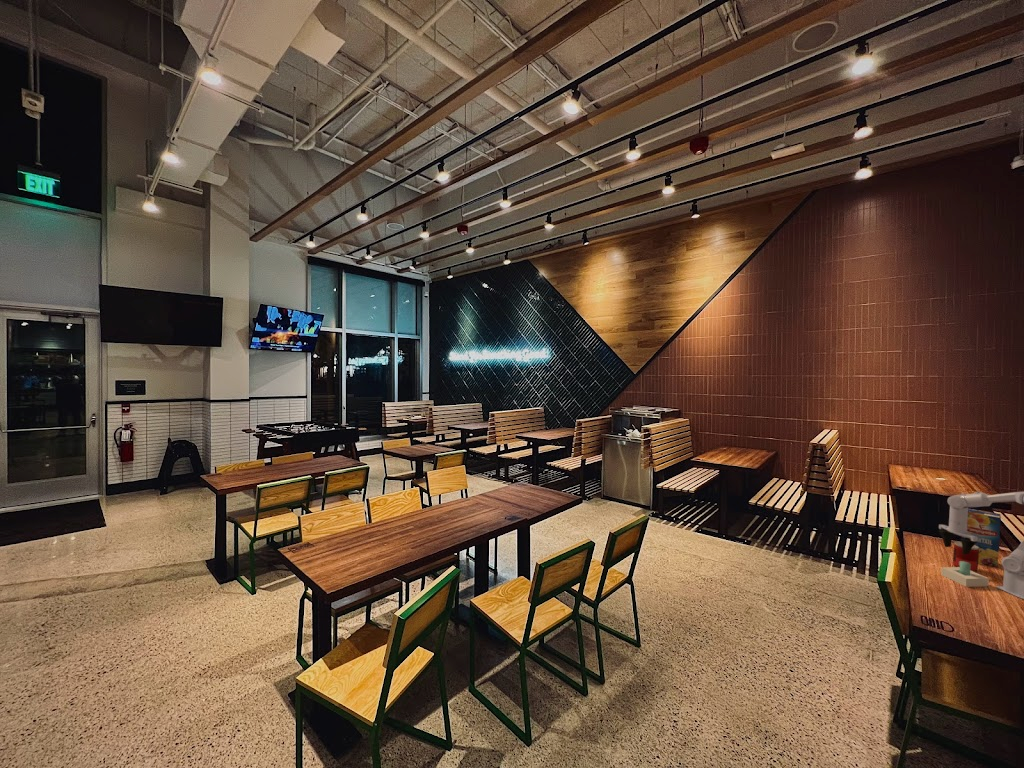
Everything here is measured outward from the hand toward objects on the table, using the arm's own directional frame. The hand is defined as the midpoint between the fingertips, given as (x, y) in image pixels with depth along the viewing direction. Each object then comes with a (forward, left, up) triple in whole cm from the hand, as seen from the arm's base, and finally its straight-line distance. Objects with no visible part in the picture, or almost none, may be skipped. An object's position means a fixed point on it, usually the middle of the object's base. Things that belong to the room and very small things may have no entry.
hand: (956, 550), depth 193 cm
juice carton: (+9, -22, -10) cm, 26 cm away
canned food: (+3, -8, -10) cm, 13 cm away
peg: (-8, +5, -10) cm, 14 cm away
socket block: (-8, +5, -10) cm, 14 cm away
